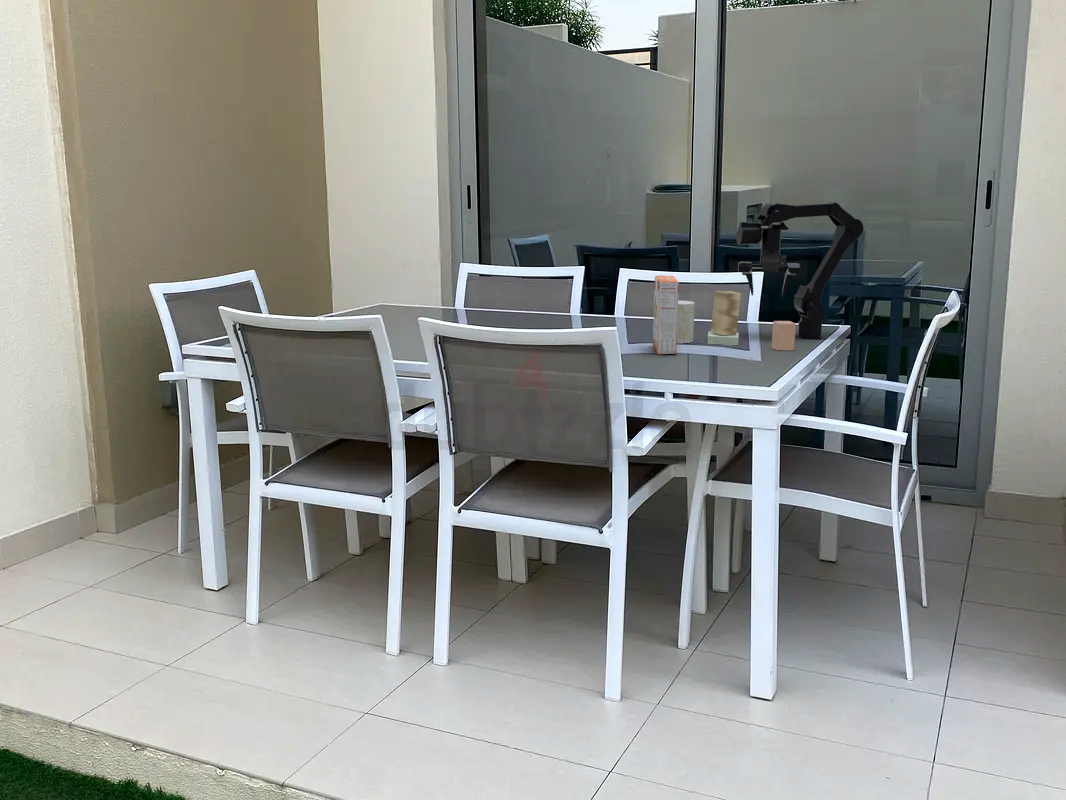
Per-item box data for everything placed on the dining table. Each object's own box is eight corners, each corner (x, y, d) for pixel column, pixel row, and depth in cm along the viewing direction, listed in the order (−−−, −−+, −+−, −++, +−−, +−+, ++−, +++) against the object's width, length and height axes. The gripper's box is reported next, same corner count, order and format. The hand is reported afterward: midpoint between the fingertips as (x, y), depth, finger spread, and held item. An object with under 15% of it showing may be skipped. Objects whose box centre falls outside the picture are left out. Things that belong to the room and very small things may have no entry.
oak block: (725, 332, 314) (730, 291, 312) (736, 335, 310) (741, 293, 307) (710, 331, 312) (715, 290, 310) (720, 334, 307) (725, 293, 305)
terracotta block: (787, 348, 304) (789, 321, 302) (793, 351, 299) (795, 323, 297) (771, 348, 303) (773, 321, 301) (777, 351, 298) (778, 323, 296)
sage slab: (737, 342, 315) (738, 332, 314) (738, 347, 306) (738, 337, 306) (708, 341, 316) (708, 331, 316) (707, 346, 308) (707, 336, 307)
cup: (676, 345, 306) (677, 304, 303) (660, 340, 313) (662, 301, 310) (698, 343, 310) (700, 303, 307) (682, 338, 317) (684, 299, 314)
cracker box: (651, 346, 303) (654, 275, 299) (671, 346, 303) (674, 275, 299) (655, 355, 290) (658, 280, 285) (676, 355, 290) (680, 280, 285)
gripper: (740, 246, 308) (737, 298, 311) (804, 247, 305) (800, 300, 309) (739, 243, 319) (736, 293, 322) (801, 244, 316) (797, 295, 319)
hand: (767, 295), depth 318 cm, fingers open, 9 cm apart
